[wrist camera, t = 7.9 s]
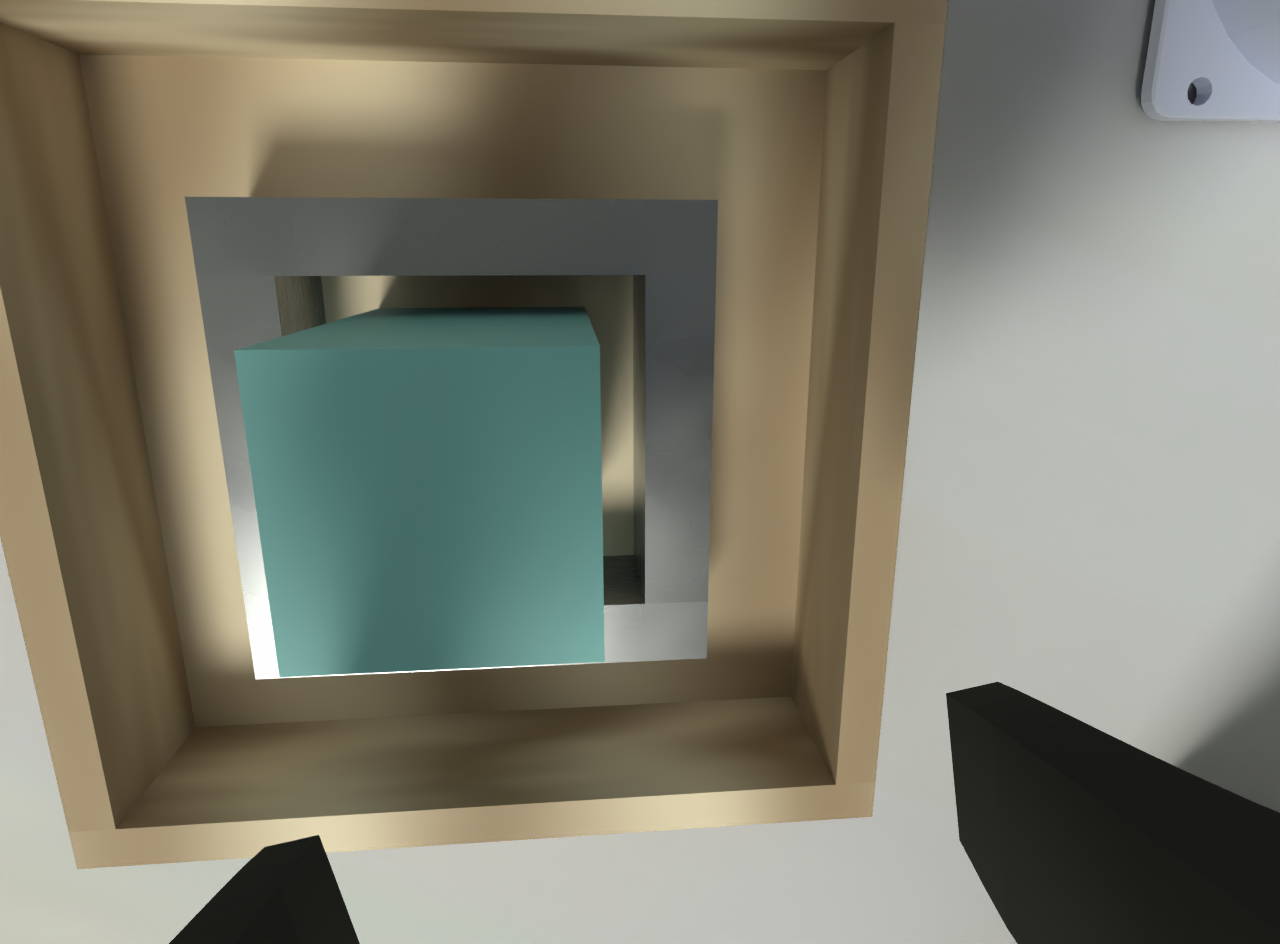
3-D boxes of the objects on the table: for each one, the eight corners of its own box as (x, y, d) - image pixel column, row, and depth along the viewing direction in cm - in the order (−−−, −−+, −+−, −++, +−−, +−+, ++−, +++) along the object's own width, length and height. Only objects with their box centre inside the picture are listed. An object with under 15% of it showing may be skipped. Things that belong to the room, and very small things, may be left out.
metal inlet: (694, 207, 15) (718, 199, 13) (687, 603, 18) (706, 658, 15) (246, 206, 15) (185, 196, 12) (299, 618, 17) (255, 679, 14)
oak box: (855, 35, 16) (951, -36, 12) (811, 705, 20) (872, 817, 16) (49, 14, 14) (-142, -74, 10) (180, 739, 18) (76, 868, 14)
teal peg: (584, 306, 16) (599, 345, 9) (588, 498, 17) (604, 661, 10) (379, 308, 15) (234, 350, 9) (396, 504, 16) (279, 677, 10)
